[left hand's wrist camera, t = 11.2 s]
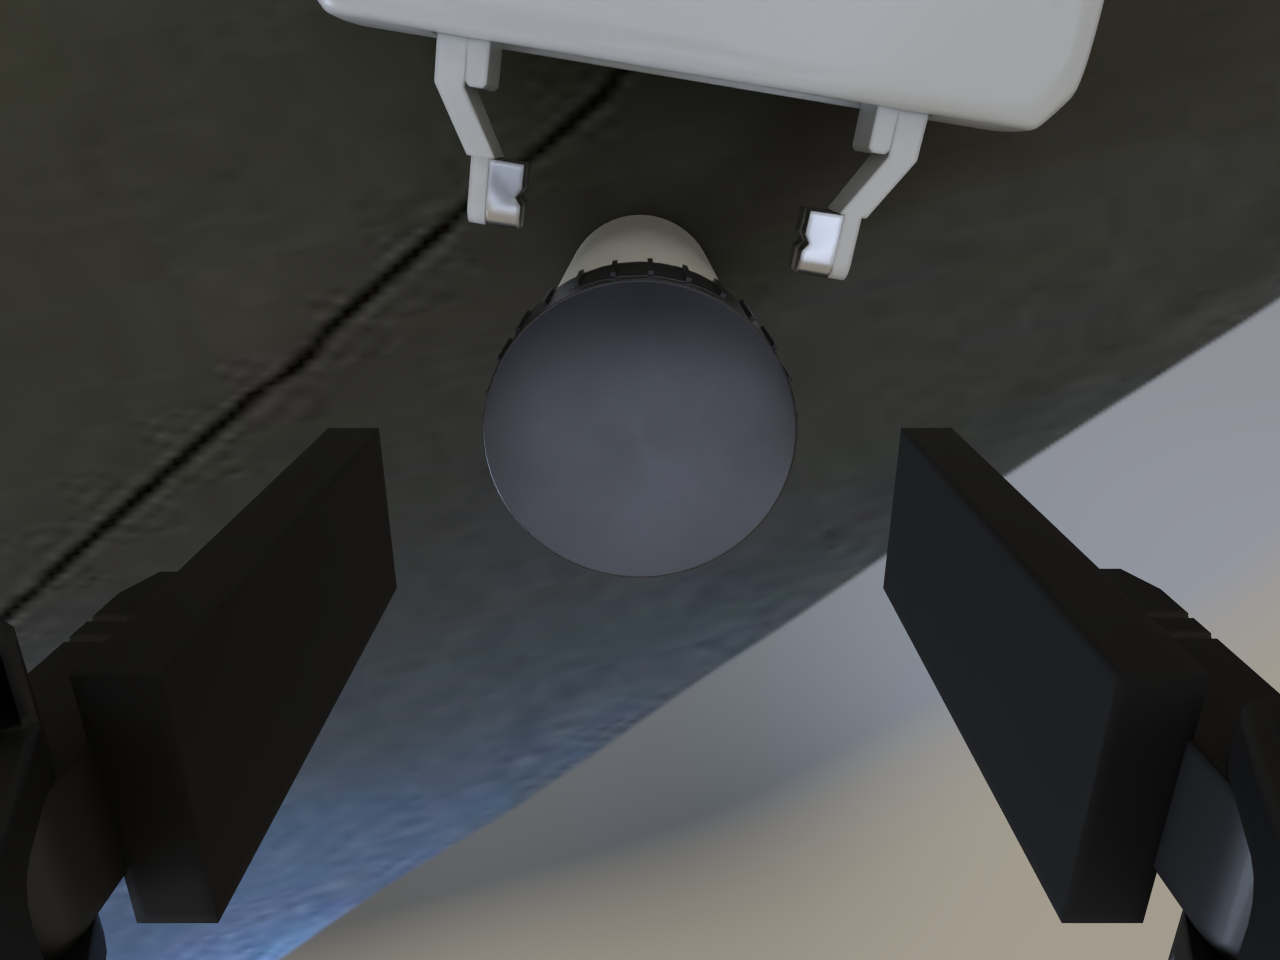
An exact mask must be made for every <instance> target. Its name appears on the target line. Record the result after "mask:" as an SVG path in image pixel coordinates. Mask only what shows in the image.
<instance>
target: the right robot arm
mask: <svg viewBox="0 0 1280 960" xmlns="http://www.w3.org/2000/svg"><path fill="white" fill-rule="evenodd" d="M318 2H319V3H320V5H321V6H322V7H323V9H324V10H325V11H327V12H328V13H330V14H331V15H333V16H336V17H338V18H340V19H342V20H345V21H348V22H351V23H355V24H358V25H362V26H367V27H373V28H378V29H384V30H390V31H396V32H402V33H408V34H414V35H420V36H426V37H432V38H437V45H436V61H435V77H434V82H435V84H436V86H437V89H438V91H439V93H440V95H441V98H442V100H443V102H444V104H445V107H446V109H447V111H448V114H449V116H450V118H451V120H452V123H453V125H454V127H455V129H456V132H457V134H458V136H459V138H460V141H461V143H462V145H463V147H464V150H465V152H466V154H467V155H471V166H470V179H469V192H468V206H467V214H468V221H469V222H474V223H479V224H486V225H493V226H501V227H508V228H515V229H520V228H521V227H523V226H524V223H525V219H526V211H527V200H526V198H525V196H524V194H523V193H524V192H525V190H526V189H527V188H528V187H529V182H530V171H531V163H528V162H522V161H517V160H511V159H506V158H501V157H504V155H503V153H502V150H501V148H500V145H499V143H498V140H497V138H496V135H495V133H494V130H493V128H492V125H491V123H490V120H489V118H488V115H487V113H486V110H485V108H484V106H483V103H482V101H481V98H480V96H479V93H478V89H481V90H487V91H492V92H494V91H496V90H497V89H498V88H499V78H500V67H501V57H502V49H504V50H510V51H516V52H522V53H528V54H534V55H540V56H546V57H552V58H558V59H564V60H570V61H576V62H582V63H588V64H594V65H600V66H606V67H612V68H618V69H624V70H630V71H636V72H642V73H648V74H654V75H660V76H666V77H672V78H678V79H684V80H690V81H696V82H702V83H708V84H714V85H720V86H726V87H732V88H738V89H744V90H750V91H756V92H762V93H768V94H774V95H780V96H786V97H792V98H798V99H804V100H810V101H816V102H822V103H828V104H834V105H840V106H846V107H852V108H858V109H860V111H859V116H858V121H857V125H856V130H855V135H854V140H853V145H852V147H853V149H854V151H859V152H864V153H871V155H870V156H869V157H868V159H867V160H866V161H865V162H864V163H863V165H862V166H861V167H860V168H859V170H858V171H857V172H856V173H855V175H854V176H853V177H852V178H851V179H850V181H849V182H848V183H847V184H846V186H845V187H844V188H843V189H842V190H841V192H840V193H839V194H838V195H837V197H836V198H835V199H834V200H833V201H832V203H831V204H830V205H829V206H828V208H827V209H829V210H824V209H817V208H810V207H802V206H800V210H799V215H798V219H797V224H796V231H797V233H798V236H799V238H798V239H797V240H796V241H795V242H794V243H793V244H792V248H791V253H790V262H789V264H790V268H791V269H793V270H794V271H795V272H798V273H803V274H809V275H815V276H820V277H826V278H827V277H828V278H833V279H839V280H844V279H845V278H846V276H847V274H848V272H849V269H850V266H851V261H852V257H853V253H854V249H855V244H856V240H857V236H858V231H859V227H860V223H861V219H862V218H865V219H866V218H867V217H868V216H869V215H870V214H871V212H872V211H873V210H874V209H875V208H876V207H877V206H878V205H879V203H880V202H881V201H882V200H883V199H884V198H885V197H886V195H887V194H888V193H889V192H890V191H891V190H892V189H893V188H894V186H895V185H896V184H897V183H898V182H899V181H900V180H901V179H902V177H903V176H904V175H905V174H906V173H907V172H908V171H909V169H910V168H911V167H912V166H913V165H914V164H915V163H916V162H917V159H918V155H919V151H920V147H921V143H922V139H923V135H924V131H925V127H926V123H927V120H930V121H936V122H942V123H948V124H954V125H960V126H967V127H973V128H979V129H985V130H992V131H1007V132H1015V131H1029V130H1033V129H1036V128H1038V127H1039V126H1041V125H1042V124H1043V123H1044V122H1046V121H1047V120H1048V119H1049V118H1050V117H1052V116H1053V115H1054V114H1055V113H1056V112H1057V111H1058V110H1059V109H1060V108H1061V107H1062V106H1064V105H1065V104H1066V103H1067V102H1068V101H1069V100H1070V99H1071V97H1072V96H1073V95H1074V93H1075V92H1076V90H1077V88H1078V86H1079V84H1080V81H1081V78H1082V76H1083V73H1084V70H1085V67H1086V64H1087V61H1088V58H1089V55H1090V51H1091V48H1092V44H1093V41H1094V38H1095V34H1096V30H1097V26H1098V23H1099V19H1100V15H1101V11H1102V7H1103V3H1104V0H318Z"/></svg>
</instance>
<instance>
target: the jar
mask: <svg viewBox="0 0 1280 960" xmlns="http://www.w3.org/2000/svg"><path fill="white" fill-rule="evenodd" d="M648 258H653V262H655V263H663V264H668V265H673V266H678V267H682V264H684V265H687V266H688V269H689V270H690V271H692V272H695V273H698V274H700V275H702V276H704V277H706V278H707V279H709V280H711V281H713V280H714V278H716V279H717V280H718V278H717V276H716V274H715V272H714V270H713V268H712V267H711V265H710V263H709V261H708V259H707V257H706V255H705V254H704V252H703V250H702V249H701V247H700V245H699V244H698V243H697V242H696V241H695V239H694V238H693V237H692V236H691V235H690V234H689V233H688V232H686V231H685V230H684V229H682V228H681V227H679V226H678V225H676V224H674V223H672V222H670V221H668V220H665V219H663V218H659V217H655V216H650V215H630V216H625V217H621V218H618V219H615V220H612V221H610V222H608V223H606V224H604V225H602V226H601V227H599V228H598V229H596V230H595V231H594V232H593V233H591V234H590V235H589V236H588V237H587V238H586V239H585V241H584V242H583V243H582V244H581V246H580V247H579V249H578V250H577V252H576V253H575V255H574V257H573V259H572V261H571V263H570V265H569V267H568V269H567V270H566V272H565V274H564V276H563V278H562V280H561V282H560V284H559V286H561V285H562V284H564V283H565V282H567V281H568V280H570V279H572V278H574V277H576V276H577V274H578V272H579V271H580V270H582V269H584V272H587V271H590V270H593V269H596V268H599V267H602V266H607V265H612V261H613V260H618V263H623V262H640V261H642V262H647V259H648ZM559 286H558V287H559ZM558 287H557V288H558Z"/></svg>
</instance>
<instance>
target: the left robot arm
mask: <svg viewBox="0 0 1280 960" xmlns="http://www.w3.org/2000/svg"><path fill="white" fill-rule="evenodd" d="M396 588H397V587H396V578H395V569H394V560H393V551H392V542H391V533H390V524H389V515H388V507H387V498H386V489H385V480H384V471H383V462H382V453H381V444H380V435H379V428H328V429H327V430H326V431H325V432H324V433H323V434H322V435H321V436H320V437H319V438H318V439H317V440H315V441H314V442H313V443H312V444H311V445H310V446H309V447H308V448H307V449H306V450H305V451H304V452H303V453H302V454H301V455H300V456H299V457H298V458H297V459H296V460H294V461H293V462H292V463H291V464H290V465H289V466H288V467H287V468H286V469H285V470H284V471H283V472H282V473H281V474H280V475H279V476H278V477H277V478H276V479H275V480H273V481H272V482H271V483H270V484H269V485H268V486H267V487H266V488H265V489H264V490H263V491H262V492H261V493H260V494H259V495H258V496H257V497H256V498H255V499H253V500H252V501H251V502H250V503H249V504H248V505H247V506H246V507H245V508H244V509H243V510H242V511H241V512H240V513H239V514H238V515H237V516H236V517H235V518H234V519H232V520H231V521H230V522H229V523H228V524H227V525H226V526H225V527H224V528H223V529H222V530H221V531H220V532H219V533H218V534H217V535H216V536H215V537H214V538H213V539H211V540H210V541H209V542H208V543H207V544H206V545H205V546H204V547H203V548H202V549H201V550H200V551H199V552H198V553H197V554H196V555H195V556H194V557H193V558H191V559H190V560H189V561H188V562H187V563H186V564H185V565H184V566H183V567H182V568H181V569H180V570H179V571H178V572H159V573H157V574H155V575H153V576H151V577H149V578H147V579H145V580H143V581H141V582H140V583H138V584H136V585H134V586H132V587H130V588H128V589H126V590H124V591H122V592H120V593H119V594H118V595H117V596H115V597H114V598H113V599H112V600H111V601H110V602H109V603H108V604H106V605H105V606H104V607H103V608H102V609H101V610H100V611H98V612H97V613H96V614H95V615H94V616H93V620H92V621H87V622H86V623H85V624H84V625H83V626H82V627H80V628H79V629H78V630H77V631H76V632H75V633H74V634H73V635H71V636H70V641H69V642H63V643H62V644H61V645H60V646H59V647H58V648H57V649H56V650H54V651H53V652H52V653H51V654H50V655H49V656H48V657H47V658H45V659H44V660H43V661H42V662H41V663H40V664H39V665H38V666H36V667H35V668H34V669H33V670H32V671H31V672H30V673H29V674H27V670H26V667H25V663H24V660H23V657H22V653H21V650H20V646H19V643H18V640H17V636H16V633H15V629H14V627H13V626H11V625H9V624H8V623H6V622H4V621H3V620H1V619H0V960H106V954H107V950H106V943H105V936H104V932H103V928H102V925H101V921H100V918H99V915H98V912H99V911H100V910H101V908H102V907H103V905H104V904H105V902H106V901H107V899H108V898H109V897H110V895H111V894H112V892H113V891H114V889H115V888H116V887H117V885H118V884H119V882H120V881H121V879H122V878H123V876H124V877H125V880H126V884H127V888H128V891H129V895H130V899H131V902H132V906H133V910H134V913H135V917H136V921H137V923H218V922H219V920H220V918H221V917H222V915H223V913H224V911H225V909H226V907H227V905H228V903H229V902H230V900H231V898H232V896H233V894H234V892H235V890H236V888H237V887H238V885H239V883H240V881H241V879H242V877H243V875H244V873H245V872H246V870H247V868H248V866H249V864H250V862H251V860H252V858H253V857H254V855H255V853H256V851H257V849H258V847H259V845H260V843H261V842H262V840H263V838H264V836H265V834H266V832H267V830H268V828H269V827H270V825H271V823H272V821H273V819H274V817H275V815H276V813H277V812H278V810H279V808H280V806H281V804H282V802H283V800H284V798H285V797H286V795H287V793H288V791H289V789H290V787H291V785H292V783H293V782H294V780H295V778H296V776H297V774H298V772H299V770H300V768H301V767H302V765H303V763H304V761H305V759H306V757H307V755H308V753H309V752H310V750H311V748H312V746H313V744H314V742H315V740H316V738H317V737H318V735H319V733H320V731H321V729H322V727H323V725H324V723H325V722H326V720H327V718H328V716H329V714H330V712H331V710H332V708H333V707H334V705H335V703H336V701H337V699H338V697H339V695H340V693H341V692H342V690H343V688H344V686H345V684H346V682H347V680H348V678H349V677H350V675H351V673H352V671H353V669H354V667H355V665H356V663H357V662H358V660H359V658H360V656H361V654H362V652H363V650H364V648H365V647H366V645H367V643H368V641H369V639H370V637H371V635H372V633H373V632H374V630H375V628H376V626H377V624H378V622H379V620H380V618H381V617H382V615H383V613H384V611H385V609H386V607H387V605H388V603H389V602H390V600H391V598H392V596H393V594H394V592H395V590H396ZM883 588H884V590H885V592H886V594H887V596H888V598H889V600H890V602H891V603H892V605H893V607H894V609H895V611H896V613H897V615H898V617H899V618H900V620H901V622H902V624H903V626H904V628H905V630H906V632H907V633H908V635H909V637H910V639H911V641H912V643H913V645H914V647H915V648H916V650H917V652H918V654H919V656H920V658H921V660H922V662H923V663H924V665H925V667H926V669H927V671H928V673H929V675H930V677H931V678H932V680H933V682H934V684H935V686H936V688H937V690H938V692H939V693H940V695H941V697H942V699H943V701H944V703H945V705H946V707H947V708H948V710H949V712H950V714H951V716H952V718H953V720H954V722H955V723H956V725H957V727H958V729H959V731H960V733H961V735H962V736H963V738H964V740H965V742H966V744H967V746H968V748H969V750H970V751H971V753H972V755H973V757H974V759H975V761H976V763H977V765H978V766H979V768H980V770H981V772H982V774H983V776H984V778H985V780H986V782H987V783H988V785H989V787H990V789H991V791H992V793H993V795H994V797H995V798H996V800H997V802H998V804H999V806H1000V808H1001V810H1002V812H1003V813H1004V815H1005V817H1006V819H1007V821H1008V823H1009V825H1010V827H1011V828H1012V830H1013V832H1014V834H1015V836H1016V838H1017V840H1018V842H1019V843H1020V845H1021V847H1022V849H1023V851H1024V853H1025V855H1026V857H1027V858H1028V860H1029V862H1030V864H1031V866H1032V868H1033V870H1034V872H1035V873H1036V875H1037V877H1038V879H1039V881H1040V883H1041V885H1042V887H1043V888H1044V890H1045V892H1046V894H1047V896H1048V898H1049V900H1050V902H1051V903H1052V905H1053V907H1054V909H1055V911H1056V913H1057V915H1058V917H1059V918H1060V920H1061V922H1062V923H1143V920H1144V917H1145V913H1146V910H1147V906H1148V902H1149V899H1150V895H1151V891H1152V888H1153V884H1154V880H1155V877H1156V873H1158V874H1159V876H1160V877H1161V879H1162V880H1163V882H1164V883H1165V885H1166V886H1167V887H1168V889H1169V890H1170V892H1171V893H1172V894H1173V896H1174V897H1175V899H1176V900H1177V902H1178V903H1179V905H1180V906H1181V907H1182V909H1183V911H1182V915H1181V918H1180V921H1179V925H1178V928H1177V932H1176V935H1175V938H1174V942H1173V945H1172V949H1171V952H1170V955H1169V959H1168V960H1280V694H1279V693H1278V692H1277V691H1276V690H1275V689H1274V688H1273V687H1271V686H1270V685H1269V684H1268V683H1267V682H1266V681H1265V680H1263V679H1262V678H1261V677H1260V676H1259V675H1258V674H1257V673H1255V672H1254V671H1253V670H1252V669H1251V668H1250V667H1249V666H1248V665H1246V664H1245V663H1244V662H1243V661H1242V660H1241V659H1240V658H1238V657H1237V656H1236V655H1235V654H1234V653H1233V652H1232V651H1230V650H1229V649H1228V648H1227V647H1226V646H1225V645H1224V644H1222V643H1221V642H1220V641H1219V640H1218V639H1212V638H1211V633H1210V632H1209V631H1208V630H1207V629H1205V628H1204V627H1203V626H1202V625H1201V624H1200V623H1199V622H1197V621H1196V620H1195V619H1194V618H1188V613H1187V612H1186V611H1185V610H1184V609H1183V608H1182V607H1180V606H1179V605H1178V604H1177V603H1176V602H1175V601H1173V600H1172V599H1171V598H1170V597H1169V596H1168V595H1167V594H1166V593H1164V592H1163V591H1162V590H1161V589H1159V588H1157V587H1155V586H1153V585H1151V584H1149V583H1147V582H1145V581H1143V580H1141V579H1139V578H1137V577H1136V576H1133V575H1132V574H1130V573H1128V572H1126V571H1124V570H1122V569H1099V568H1098V567H1097V566H1096V565H1095V564H1094V563H1093V562H1092V561H1091V560H1090V559H1088V558H1087V557H1086V556H1085V555H1084V554H1083V553H1082V552H1081V551H1080V550H1079V549H1078V548H1077V547H1076V546H1075V545H1074V544H1073V543H1072V542H1071V541H1070V540H1068V539H1067V538H1066V537H1065V536H1064V535H1063V534H1062V533H1061V532H1060V531H1059V530H1058V529H1057V528H1056V527H1055V526H1054V525H1053V524H1052V523H1051V522H1050V521H1049V520H1048V519H1046V518H1045V517H1044V516H1043V515H1042V514H1041V513H1040V512H1039V511H1038V510H1037V509H1036V508H1035V507H1034V506H1033V505H1032V504H1031V503H1030V502H1029V501H1028V500H1026V499H1025V498H1024V497H1023V496H1022V495H1021V494H1020V493H1019V492H1018V491H1017V490H1016V489H1015V488H1014V487H1013V486H1012V485H1011V484H1010V483H1009V482H1008V481H1007V480H1005V479H1004V478H1003V477H1002V476H1001V475H1000V474H999V473H998V472H997V471H996V470H995V469H994V468H993V467H992V466H991V465H990V464H989V463H988V462H987V461H986V460H984V459H983V458H982V457H981V456H980V455H979V454H978V453H977V452H976V451H975V450H974V449H973V448H972V447H971V446H970V445H969V444H968V443H967V442H966V441H965V440H963V439H962V438H961V437H960V436H959V435H958V434H957V433H956V432H955V431H954V430H953V429H952V428H901V435H900V444H899V453H898V462H897V471H896V480H895V489H894V498H893V507H892V515H891V524H890V533H889V542H888V551H887V560H886V569H885V578H884V587H883Z"/></svg>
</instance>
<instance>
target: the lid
mask: <svg viewBox="0 0 1280 960" xmlns="http://www.w3.org/2000/svg"><path fill="white" fill-rule="evenodd" d="M755 319H756V318H755V317H754V315H753V313H752V312H751V310H750V308H749V307H748V305H747V304H746V302H745V301H744V300H743V299H742V300H741V301H740V302H739V301H738V300H737V299H736V298H735V297H734V296H733V295H732V294H731V293H729V292H728V291H726V290H725V289H724V288H723V287H722V285H721V284H720V282H719V280H717V279H716V278H714V280H713V281H711V280H709V279H707V278H706V277H704V276H702V275H700V274H698V273H695V272H692V271H690V270H689V269H688V266H687V265H684V264H682V267H678V266H673V265H668V264H663V263H655V262H653V258H648V259H647V262H642V261H640V262H623V263H618V260H613V261H612V265H607V266H602V267H599V268H596V269H593V270H590V271H587V272H584V269H582V270H580V271H579V272H578V274H577V276H576V277H574V278H572V279H570V280H568V281H567V282H565V283H564V284H562V285H561V286H559V287H558V288H556V289H555V288H554V287H553V286H552V287H551V288H550V289H549V290H548V292H547V294H546V295H545V297H544V299H543V300H542V301H541V302H540V303H539V304H538V305H537V306H536V307H535V308H534V309H533V310H532V312H530V311H529V310H527V311H526V312H525V314H524V315H523V317H522V318H521V320H520V322H519V323H518V325H517V326H516V328H515V330H514V331H515V332H516V335H515V336H514V338H513V339H511V338H509V339H508V341H507V343H506V344H505V346H504V347H503V349H502V351H501V352H500V354H499V355H498V357H497V359H496V361H495V362H496V363H498V366H497V368H496V370H495V372H494V374H493V377H492V379H491V383H490V385H489V387H488V388H487V390H486V392H485V396H486V402H485V408H484V415H483V440H484V448H485V455H486V459H487V463H488V467H489V470H490V474H491V477H492V479H493V481H494V484H495V486H496V488H497V491H498V493H499V495H500V496H501V498H502V500H503V501H504V503H505V505H506V507H507V508H508V510H509V511H510V512H511V514H512V515H513V516H514V517H515V519H516V520H517V521H518V523H519V524H520V525H521V526H522V527H523V528H524V529H525V530H526V531H527V532H528V533H529V534H530V535H531V536H532V537H533V538H534V539H536V540H537V541H538V542H539V543H541V544H542V545H543V546H545V547H546V548H547V549H549V550H550V551H552V552H554V553H555V554H557V555H559V556H560V557H562V558H564V559H565V560H568V561H570V562H572V563H574V564H577V565H579V566H581V567H584V568H587V569H590V570H593V571H597V572H600V573H605V574H610V575H615V576H623V577H638V578H639V577H658V576H664V575H670V574H676V573H680V572H683V571H687V570H690V569H693V568H696V567H699V566H701V565H703V564H706V563H708V562H710V561H713V560H715V559H716V558H718V557H720V556H722V555H723V554H725V553H727V552H728V551H730V550H731V549H733V548H734V547H735V546H737V545H738V544H739V543H741V542H742V541H743V540H745V539H746V538H747V537H748V536H749V535H750V534H751V533H752V532H753V531H754V530H755V529H756V528H757V527H758V526H759V525H760V524H761V523H762V521H763V520H764V519H765V518H766V516H767V515H768V514H769V513H770V511H771V510H772V508H773V506H774V505H775V503H776V502H777V500H778V498H779V497H780V495H781V493H782V491H783V488H784V486H785V484H786V482H787V479H788V477H789V474H790V470H791V467H792V463H793V460H794V455H795V448H796V441H797V410H796V408H795V400H794V396H793V393H792V389H791V385H790V382H792V379H791V377H790V375H789V373H788V372H787V370H786V368H785V367H784V365H783V363H782V362H781V360H780V359H779V357H778V356H777V354H776V353H775V350H776V349H778V347H777V346H776V344H775V342H774V341H773V339H772V338H771V336H770V334H769V333H768V331H767V330H766V328H765V327H764V326H762V327H759V325H758V323H757V322H756V320H755Z"/></svg>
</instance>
